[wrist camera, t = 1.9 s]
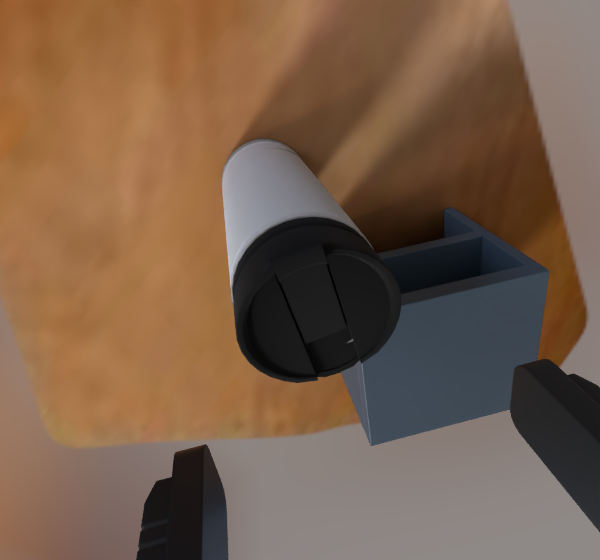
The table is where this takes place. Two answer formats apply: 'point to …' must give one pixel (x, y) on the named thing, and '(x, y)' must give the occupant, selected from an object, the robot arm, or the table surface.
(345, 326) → the travel mug
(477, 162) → the table surface
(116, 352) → the table surface
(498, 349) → the shelf
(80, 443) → the table surface
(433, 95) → the table surface
